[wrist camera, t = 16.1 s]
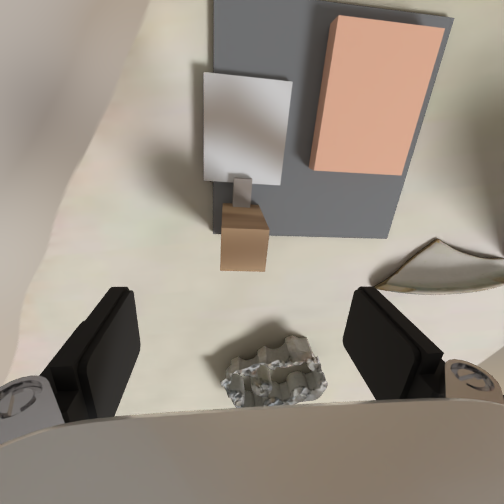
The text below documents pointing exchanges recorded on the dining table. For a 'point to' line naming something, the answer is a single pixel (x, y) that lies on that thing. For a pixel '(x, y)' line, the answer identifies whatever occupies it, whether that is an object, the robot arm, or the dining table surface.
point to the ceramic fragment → (445, 272)
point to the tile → (371, 94)
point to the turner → (244, 157)
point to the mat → (308, 115)
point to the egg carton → (269, 391)
